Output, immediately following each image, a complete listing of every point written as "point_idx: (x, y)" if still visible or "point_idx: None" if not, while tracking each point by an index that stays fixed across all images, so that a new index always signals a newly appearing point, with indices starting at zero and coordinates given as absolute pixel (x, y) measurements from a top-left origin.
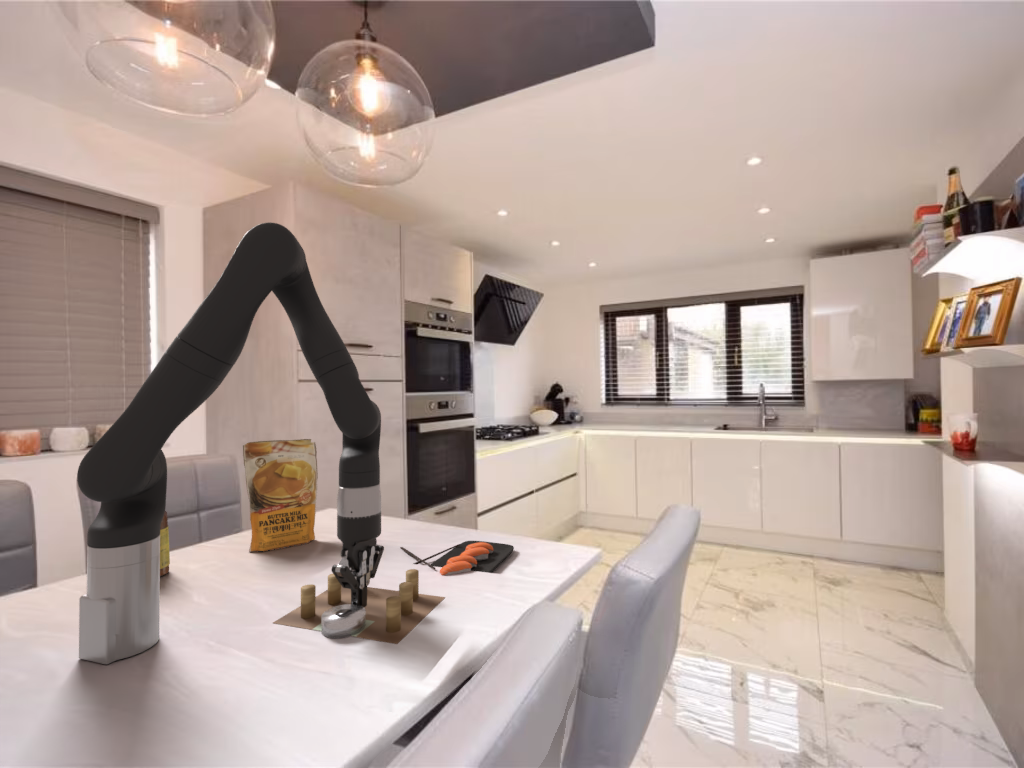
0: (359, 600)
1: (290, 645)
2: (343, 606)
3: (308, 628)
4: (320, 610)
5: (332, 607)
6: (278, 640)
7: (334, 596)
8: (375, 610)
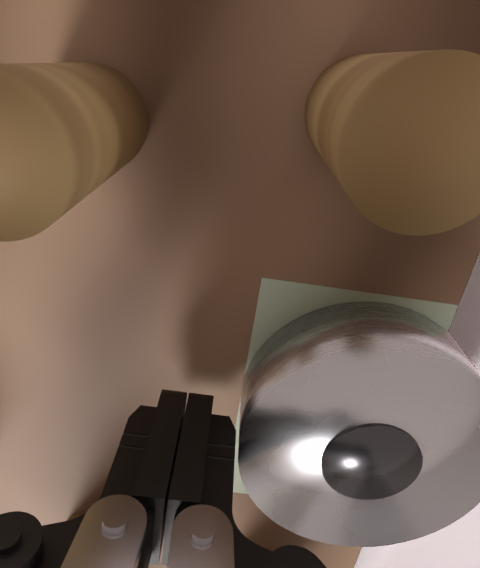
0: (216, 448)
1: None
2: (278, 494)
3: None
4: None
5: None
6: (383, 560)
7: None
8: (125, 327)
